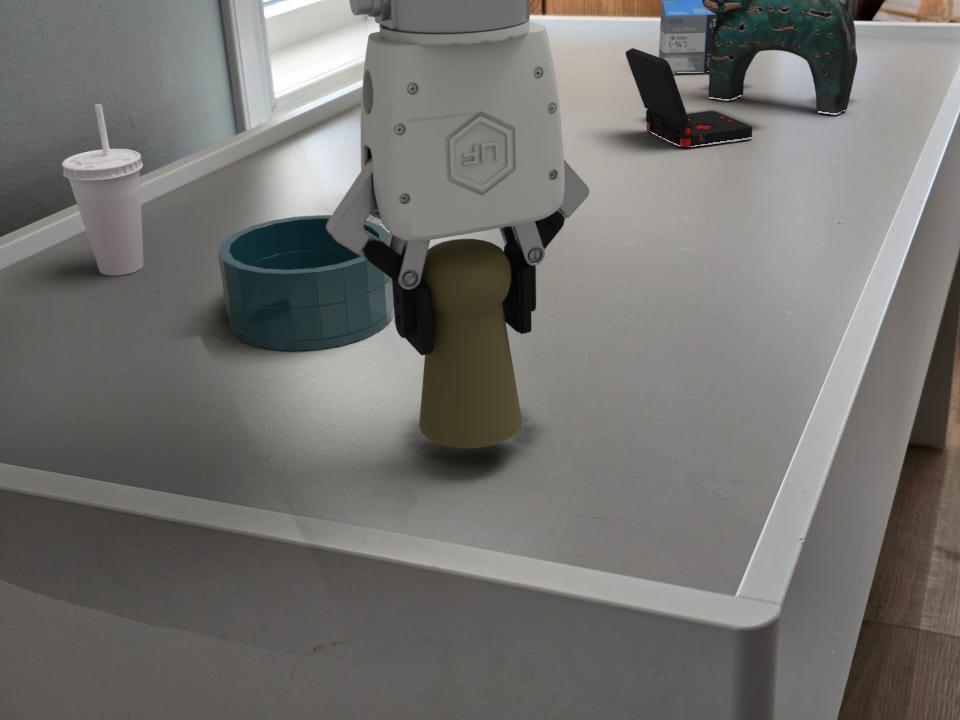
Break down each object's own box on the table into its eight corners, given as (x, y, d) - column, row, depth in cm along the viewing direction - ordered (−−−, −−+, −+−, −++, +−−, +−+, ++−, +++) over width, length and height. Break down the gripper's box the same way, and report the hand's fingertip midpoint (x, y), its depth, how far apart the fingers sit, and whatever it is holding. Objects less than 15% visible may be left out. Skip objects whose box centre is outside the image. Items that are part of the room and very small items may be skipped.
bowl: (250, 364, 79) (239, 285, 76) (214, 302, 90) (203, 231, 87) (418, 330, 83) (413, 254, 81) (365, 275, 94) (359, 206, 91)
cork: (506, 454, 63) (501, 269, 58) (404, 441, 64) (391, 261, 60) (533, 404, 68) (530, 231, 63) (438, 393, 70) (428, 224, 65)
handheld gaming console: (754, 140, 127) (761, 50, 123) (659, 153, 124) (663, 61, 119) (711, 122, 135) (716, 37, 131) (621, 134, 132) (622, 47, 127)
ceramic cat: (691, 99, 146) (699, -65, 138) (717, 90, 151) (726, -69, 142) (836, 120, 134) (855, -58, 126) (859, 109, 139) (879, -64, 130)
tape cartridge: (662, 75, 160) (665, -15, 154) (657, 70, 163) (661, -19, 158) (724, 73, 160) (730, -18, 154) (719, 68, 163) (724, -21, 158)
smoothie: (173, 265, 97) (147, 104, 91) (107, 287, 93) (75, 119, 87) (134, 249, 101) (107, 93, 95) (69, 269, 97) (35, 108, 91)
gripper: (307, 30, 50) (342, 394, 58) (642, -5, 56) (632, 330, 63) (265, 8, 56) (302, 340, 64) (571, -21, 62) (570, 286, 70)
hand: (467, 332), depth 64 cm, fingers closed on cork, 5 cm apart
